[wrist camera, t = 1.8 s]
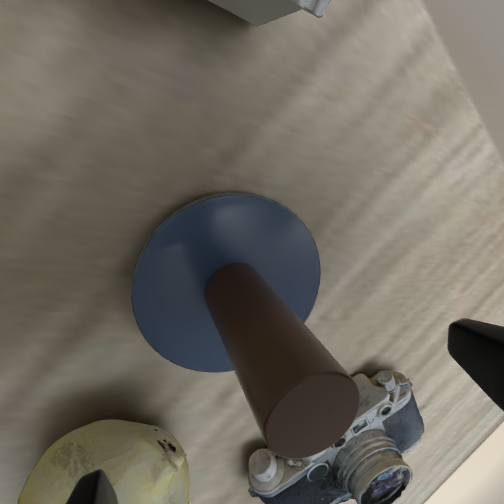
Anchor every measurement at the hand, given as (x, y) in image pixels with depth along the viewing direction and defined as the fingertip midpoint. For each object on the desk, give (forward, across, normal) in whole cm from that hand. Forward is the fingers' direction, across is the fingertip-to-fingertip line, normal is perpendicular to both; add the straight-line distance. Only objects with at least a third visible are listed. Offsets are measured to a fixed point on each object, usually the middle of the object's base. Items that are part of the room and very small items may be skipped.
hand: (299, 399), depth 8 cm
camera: (+7, -4, +11) cm, 14 cm away
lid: (+6, 0, 0) cm, 6 cm away
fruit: (+7, +7, +7) cm, 12 cm away
